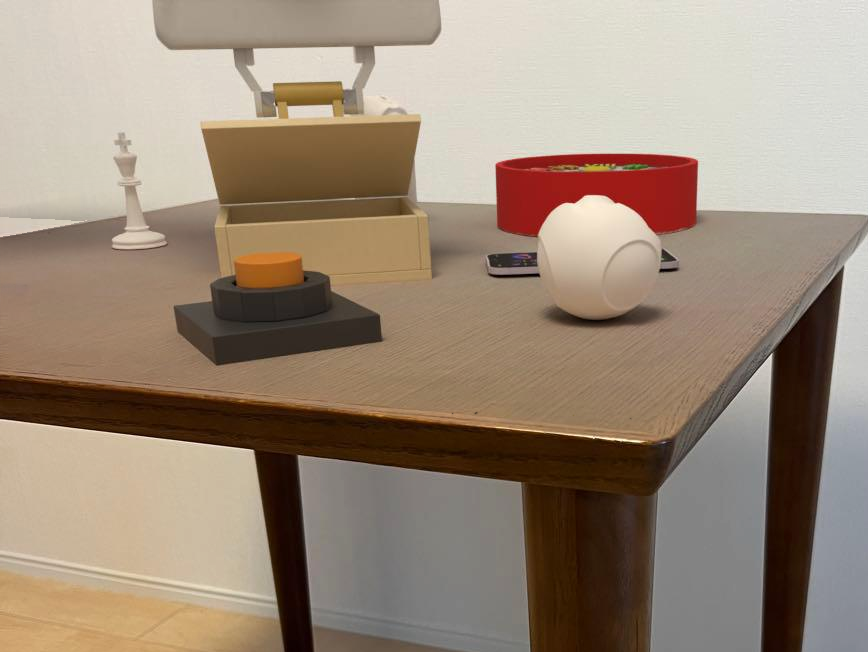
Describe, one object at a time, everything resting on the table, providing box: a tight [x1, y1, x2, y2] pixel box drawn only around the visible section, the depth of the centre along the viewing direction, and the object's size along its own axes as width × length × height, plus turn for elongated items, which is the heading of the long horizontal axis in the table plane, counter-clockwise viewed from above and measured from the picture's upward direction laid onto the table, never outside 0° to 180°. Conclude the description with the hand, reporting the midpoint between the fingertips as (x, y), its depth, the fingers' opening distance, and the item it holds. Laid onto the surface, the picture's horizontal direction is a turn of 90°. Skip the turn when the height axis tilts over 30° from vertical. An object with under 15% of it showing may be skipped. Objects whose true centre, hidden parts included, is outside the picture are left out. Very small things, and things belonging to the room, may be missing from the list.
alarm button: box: [234, 252, 304, 288], centre depth 66 cm, size 4×4×2 cm
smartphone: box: [485, 247, 680, 276], centre depth 88 cm, size 8×1×15 cm
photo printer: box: [349, 94, 418, 206], centre depth 111 cm, size 10×4×12 cm, turn 27°
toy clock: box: [494, 153, 699, 237], centre depth 109 cm, size 20×6×20 cm
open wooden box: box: [213, 197, 433, 287], centre depth 87 cm, size 13×16×5 cm
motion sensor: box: [536, 195, 662, 321], centre depth 69 cm, size 8×8×8 cm
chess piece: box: [111, 132, 168, 251], centre depth 101 cm, size 5×5×10 cm
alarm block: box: [173, 270, 383, 367], centre depth 67 cm, size 10×10×4 cm
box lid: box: [200, 80, 422, 206], centre depth 85 cm, size 13×16×4 cm
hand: (310, 115), depth 81 cm, fingers closed on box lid, 5 cm apart
